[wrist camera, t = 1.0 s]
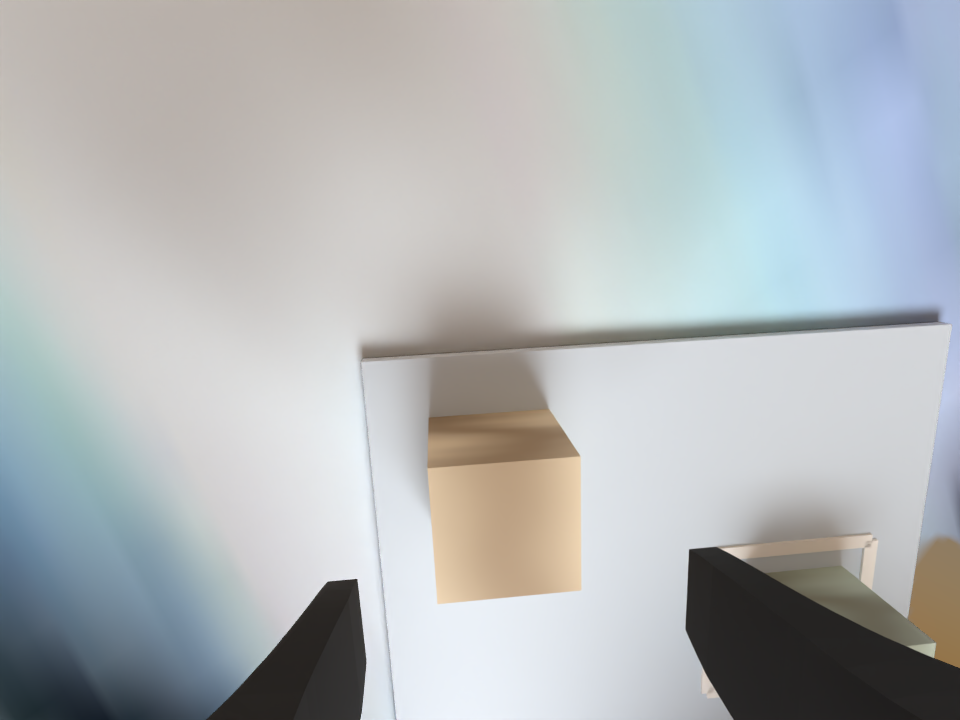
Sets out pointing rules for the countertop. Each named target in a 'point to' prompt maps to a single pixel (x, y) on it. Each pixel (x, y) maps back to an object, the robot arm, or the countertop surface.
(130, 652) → the countertop surface
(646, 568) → the white rectangular panel
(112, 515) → the countertop surface
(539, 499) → the maple cube
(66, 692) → the countertop surface
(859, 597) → the sage base cube
